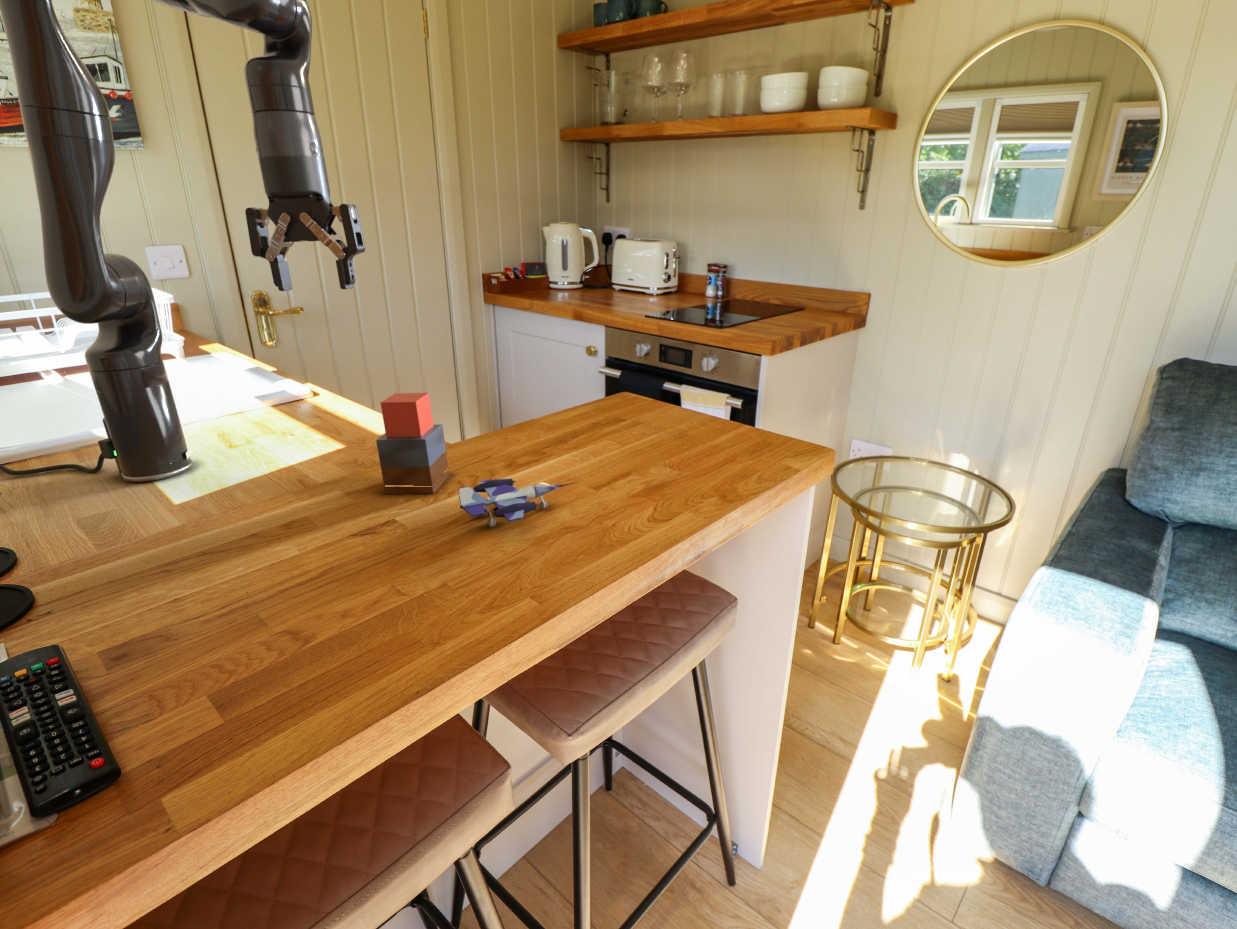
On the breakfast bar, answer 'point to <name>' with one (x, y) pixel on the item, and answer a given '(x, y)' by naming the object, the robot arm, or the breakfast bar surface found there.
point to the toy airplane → (503, 499)
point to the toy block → (407, 414)
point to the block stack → (413, 462)
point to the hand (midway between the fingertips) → (316, 289)
